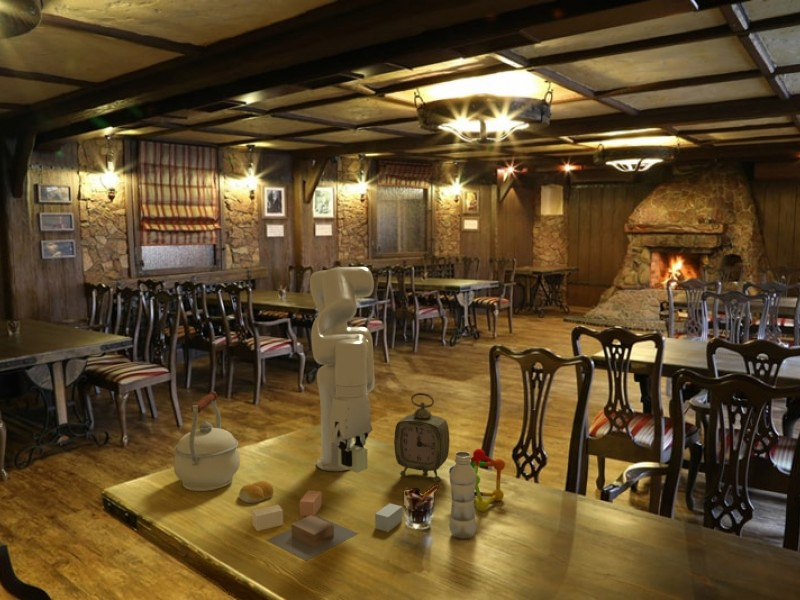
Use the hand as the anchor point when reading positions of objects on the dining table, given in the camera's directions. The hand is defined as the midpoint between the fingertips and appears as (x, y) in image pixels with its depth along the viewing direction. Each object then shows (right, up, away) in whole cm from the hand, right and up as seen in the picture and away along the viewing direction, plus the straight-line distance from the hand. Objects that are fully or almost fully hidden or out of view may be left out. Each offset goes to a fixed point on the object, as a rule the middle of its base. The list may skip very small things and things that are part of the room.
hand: (352, 462), depth 157 cm
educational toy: (+32, -14, +12) cm, 37 cm away
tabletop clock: (+18, -12, +30) cm, 37 cm away
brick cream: (-20, -16, -2) cm, 26 cm away
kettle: (-44, -13, +29) cm, 54 cm away
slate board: (-9, -16, -8) cm, 20 cm away
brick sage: (0, -1, 0) cm, 1 cm away
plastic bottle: (+27, -16, -6) cm, 32 cm away
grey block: (+9, -16, -2) cm, 18 cm away
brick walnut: (-9, -15, -8) cm, 19 cm away
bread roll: (-28, -14, +17) cm, 35 cm away
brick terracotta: (-11, -15, +6) cm, 20 cm away
